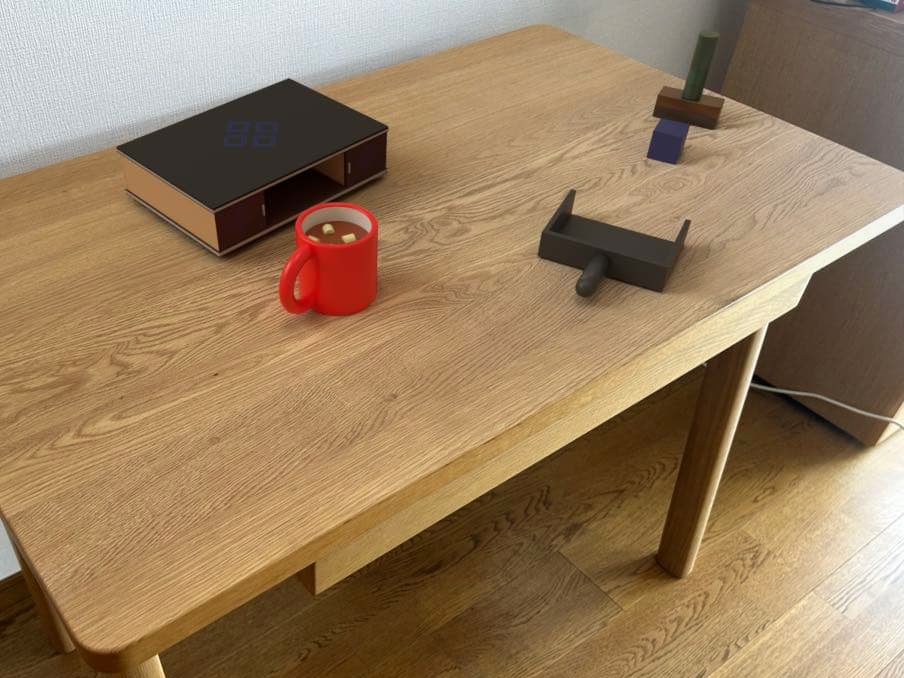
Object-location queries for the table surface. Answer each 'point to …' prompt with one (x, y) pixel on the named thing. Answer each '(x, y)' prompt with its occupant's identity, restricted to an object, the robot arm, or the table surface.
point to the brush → (693, 90)
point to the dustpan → (608, 250)
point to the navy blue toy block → (668, 141)
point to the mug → (332, 261)
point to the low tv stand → (253, 163)
